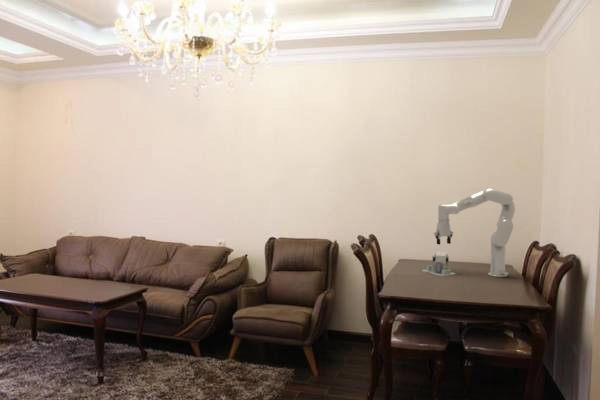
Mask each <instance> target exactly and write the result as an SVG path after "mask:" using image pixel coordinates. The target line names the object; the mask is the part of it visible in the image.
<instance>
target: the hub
mask: <svg viewBox="0 0 600 400" xmlns="http://www.w3.org/2000/svg"><path fill="white" fill-rule="evenodd" d="M433 265H434V271H438V272H442V269H445V264H444V263H443V262H434V261H433Z"/></svg>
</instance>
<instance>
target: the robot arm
mask: <svg viewBox="0 0 600 400" xmlns="http://www.w3.org/2000/svg"><path fill="white" fill-rule="evenodd" d="M513 198H514V197H513V196H512V195H511V194H510V193H508V192H504V191H501V190H497V189H495V188H491V187H490V188H485V189H483V190H479V191H478V192H475V193H474V194H471V195H469V196H467V197H465V198H463V199H460V200H458V201H456V202H454V203H452V204H445V203H444V204H441V203H440V204H439V205H438V206H437V211H438V214H437V215H438V216H437V218H438V221H437V223H436V229H435V230H436V231H435V232H433V235H434V238H435V239H436V245H441V238H442V237H446V244H451V243H452V242H451V239H452V237H453V235H454V232H453V231H452V230H451V225H450V215H458V214H459V213H460V212H462V211H464V210H467V209H469V208H474V207H477V206H480V205H482V204H484V203H486V202H489V201H491V202H493V203H496V204H500V205H501V210H500V215H499V217H498V219H497V223H496V227H497V229H496V232H493V233H492V234H491V236H490V271H489V272H488V273H487V275H488V276H490V277H498V278H503V277H504V278H505V277H508V275H509V272H507V270H506V246H507V244H508V242H509V240H510V238H511V234H512V232H513V228H514V223H513V221H512V220H513V218H514V215H515V213H516V212H515V211H516V208H515V206H516V205H515V203H514V201H513V200H514V199H513Z"/></svg>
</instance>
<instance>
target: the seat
mask: <svg viewBox="0 0 600 400" xmlns="http://www.w3.org/2000/svg"><path fill="white" fill-rule="evenodd" d="M426 266H427V267H426V269H422V270H421V271H422V272H423V273H429V274H432V275H434V276H435V275H436V276H438V277H443V276H444V277H445V276H456V273H455V272H452V269H451V268H444V269H442V272H438V271H434V264H433V265H431V264H430V265H426Z"/></svg>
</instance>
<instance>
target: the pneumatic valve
mask: <svg viewBox="0 0 600 400" xmlns="http://www.w3.org/2000/svg"><path fill="white" fill-rule="evenodd" d="M432 262H433V263H434V262H443V263H444V265H445V264H447V263H449V256H448V255H447V254H442V253H439V254H434V255H432Z"/></svg>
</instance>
